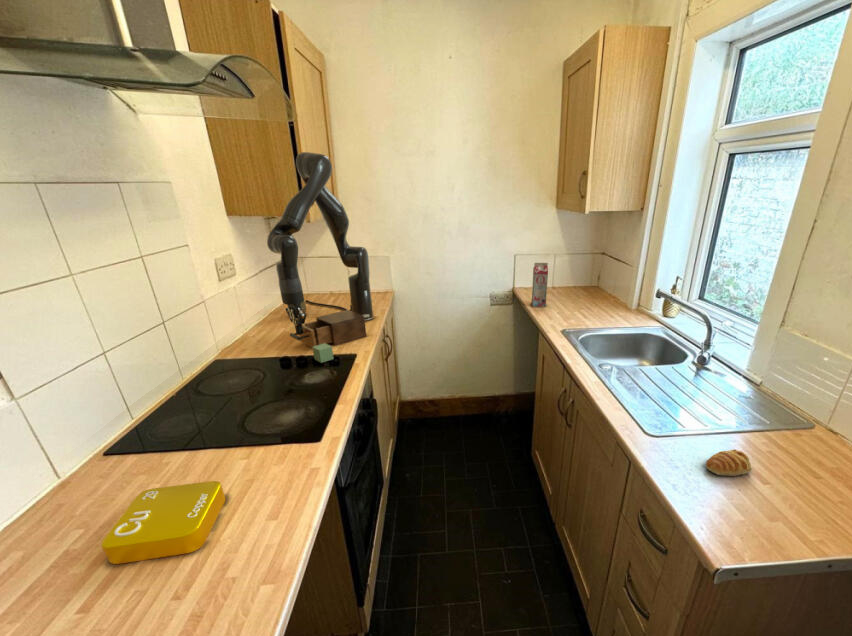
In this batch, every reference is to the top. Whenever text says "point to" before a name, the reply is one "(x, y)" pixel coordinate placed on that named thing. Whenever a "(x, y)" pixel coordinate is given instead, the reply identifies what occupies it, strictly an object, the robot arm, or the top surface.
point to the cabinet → (345, 326)
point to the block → (323, 352)
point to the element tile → (165, 522)
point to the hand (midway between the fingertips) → (299, 333)
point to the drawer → (315, 333)
